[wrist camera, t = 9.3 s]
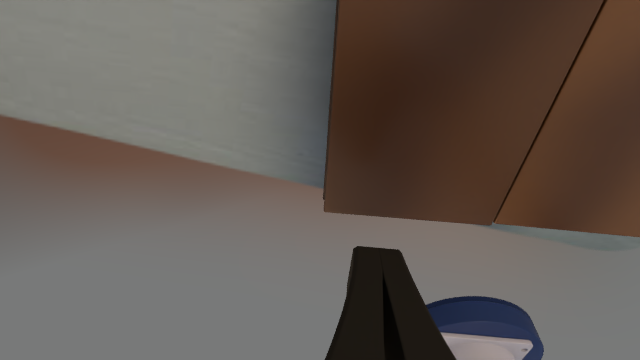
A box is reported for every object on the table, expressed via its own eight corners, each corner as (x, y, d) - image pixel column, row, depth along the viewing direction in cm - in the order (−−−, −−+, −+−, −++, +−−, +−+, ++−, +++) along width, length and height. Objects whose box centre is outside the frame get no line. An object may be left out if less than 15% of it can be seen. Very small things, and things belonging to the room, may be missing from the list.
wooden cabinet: (756, -144, 12) (1099, -195, 6) (578, 150, 19) (667, 241, 14) (350, -165, 12) (351, -231, 7) (329, 131, 19) (321, 213, 14)
